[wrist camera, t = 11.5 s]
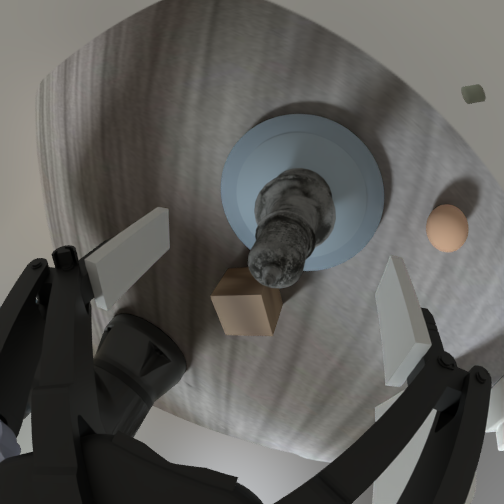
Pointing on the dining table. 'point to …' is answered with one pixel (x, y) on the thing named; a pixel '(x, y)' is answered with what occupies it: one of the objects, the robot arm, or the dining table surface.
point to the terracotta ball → (447, 228)
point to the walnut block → (246, 304)
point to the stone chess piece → (290, 226)
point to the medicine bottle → (497, 413)
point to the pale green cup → (473, 94)
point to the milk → (404, 462)
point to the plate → (313, 158)
